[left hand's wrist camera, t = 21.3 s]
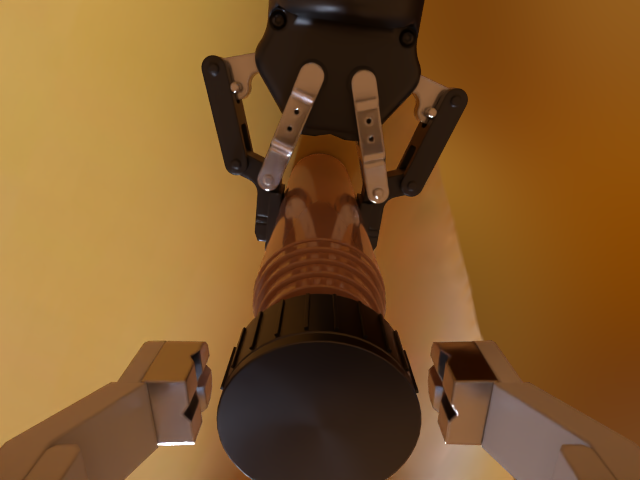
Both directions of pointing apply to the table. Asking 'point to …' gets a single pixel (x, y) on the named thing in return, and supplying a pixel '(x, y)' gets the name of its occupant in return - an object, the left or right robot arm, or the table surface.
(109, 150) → the table surface
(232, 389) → the cap
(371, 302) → the bottle
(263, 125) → the table surface
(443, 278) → the table surface
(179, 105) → the table surface
